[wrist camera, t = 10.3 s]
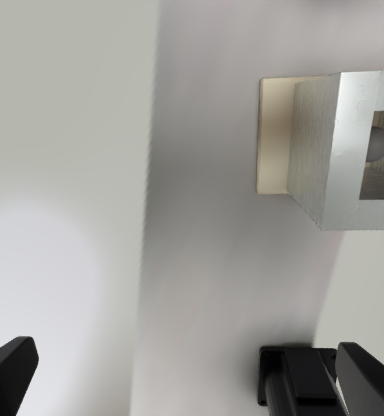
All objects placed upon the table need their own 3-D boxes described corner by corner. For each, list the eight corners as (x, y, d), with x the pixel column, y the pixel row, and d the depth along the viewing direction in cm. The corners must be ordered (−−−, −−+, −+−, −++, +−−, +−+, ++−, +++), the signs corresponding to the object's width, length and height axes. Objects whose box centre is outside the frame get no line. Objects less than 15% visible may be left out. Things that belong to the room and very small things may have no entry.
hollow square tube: (388, 188, 18) (474, 229, 12) (286, 189, 19) (321, 230, 13) (411, 78, 16) (527, 64, 10) (294, 83, 17) (341, 72, 11)
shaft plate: (408, 187, 19) (469, 213, 15) (256, 190, 20) (269, 216, 15) (433, 72, 17) (516, 60, 12) (260, 79, 18) (277, 71, 13)
